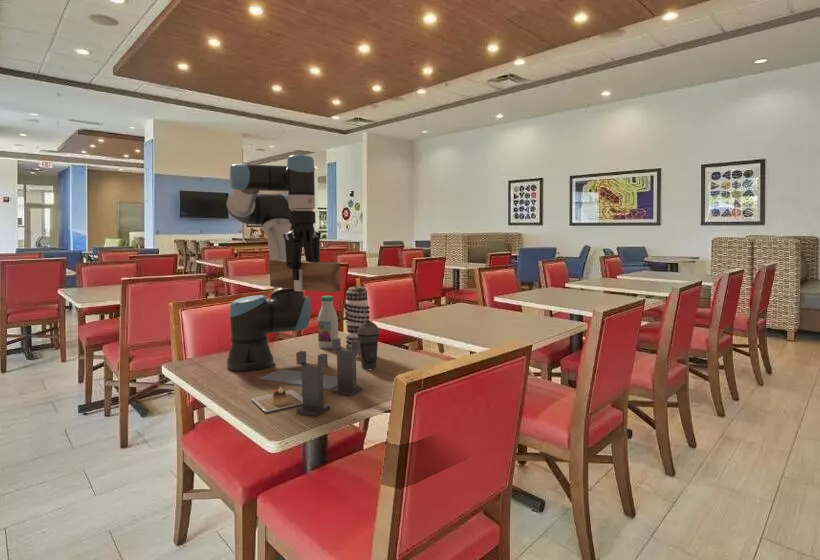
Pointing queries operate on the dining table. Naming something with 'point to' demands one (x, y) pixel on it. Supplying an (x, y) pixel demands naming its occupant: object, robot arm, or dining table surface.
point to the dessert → (278, 399)
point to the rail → (307, 275)
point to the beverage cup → (368, 343)
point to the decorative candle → (355, 313)
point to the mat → (298, 378)
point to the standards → (314, 378)
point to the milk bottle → (327, 323)
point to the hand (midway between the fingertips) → (304, 289)
